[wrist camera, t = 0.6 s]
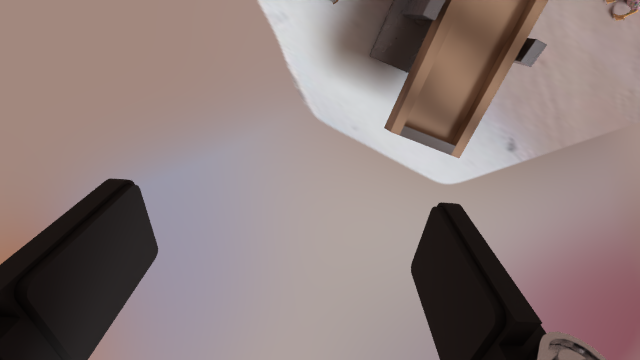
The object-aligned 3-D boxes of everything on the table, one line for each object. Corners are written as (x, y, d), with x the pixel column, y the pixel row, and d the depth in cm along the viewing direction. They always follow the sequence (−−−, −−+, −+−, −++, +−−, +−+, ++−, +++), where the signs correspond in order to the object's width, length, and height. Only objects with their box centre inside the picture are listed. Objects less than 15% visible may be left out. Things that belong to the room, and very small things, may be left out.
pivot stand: (423, -68, 28) (460, -97, 20) (536, -7, 30) (604, -13, 23) (369, 55, 33) (382, 67, 26) (468, 98, 36) (505, 120, 29)
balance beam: (507, -144, 22) (527, -166, 20) (583, -95, 24) (610, -111, 22) (384, 127, 30) (390, 131, 28) (448, 152, 31) (459, 158, 29)
